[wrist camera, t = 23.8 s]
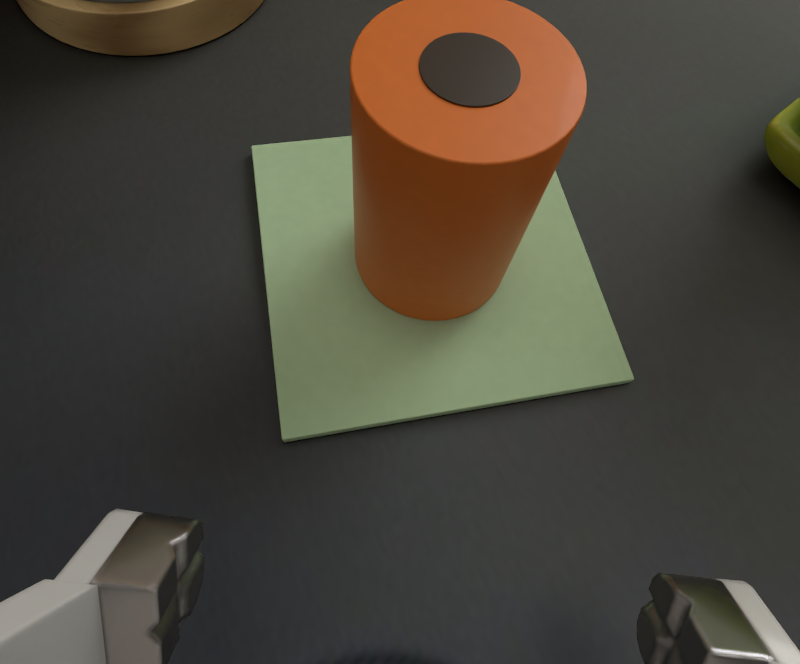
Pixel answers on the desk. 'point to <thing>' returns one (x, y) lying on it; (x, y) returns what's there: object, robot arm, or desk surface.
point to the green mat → (408, 337)
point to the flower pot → (785, 142)
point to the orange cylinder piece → (454, 146)
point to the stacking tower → (137, 23)
